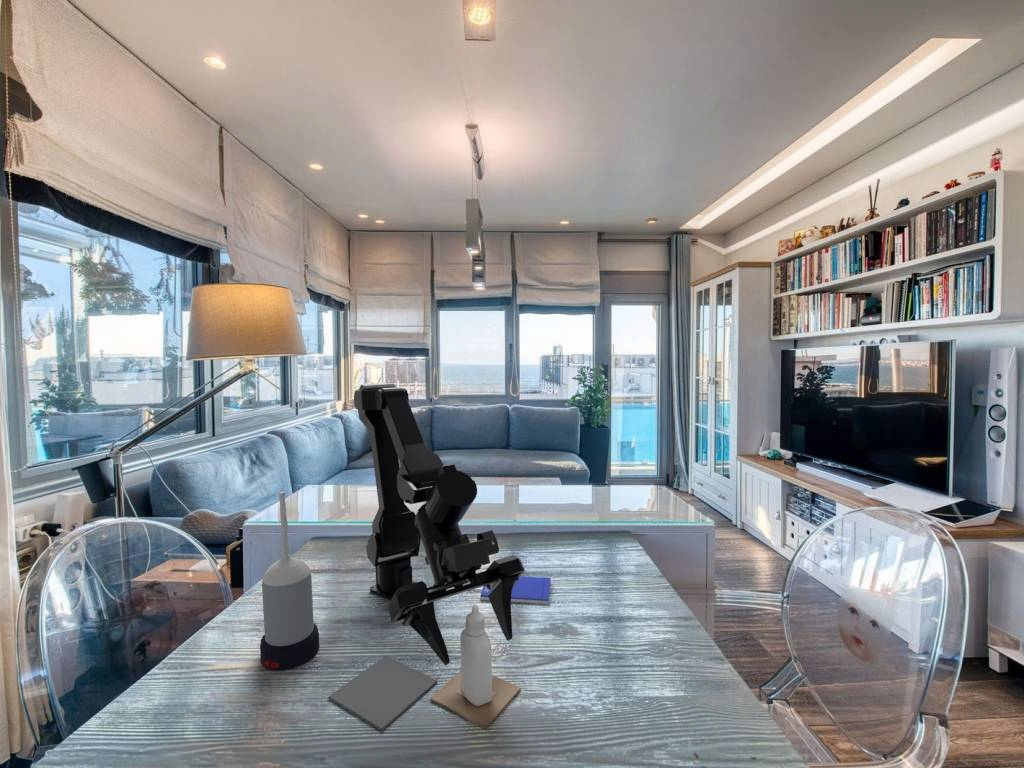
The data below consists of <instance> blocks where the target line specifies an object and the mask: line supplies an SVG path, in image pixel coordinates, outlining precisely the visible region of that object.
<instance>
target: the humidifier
mask: <svg viewBox="0 0 1024 768" xmlns="http://www.w3.org/2000/svg"><path fill="white" fill-rule="evenodd" d="M279 515H280V525H281V527H280V528H281V529H280V530H281V531H280V542H281V543H280V545H281V553H282V555H281V558H279V560H276V561H275V562H273V563H272V564H271V565H270V566H269V567H268V568H267V570H265V573H264V575H263V576H262V580H261V591H262V608H263V609H262V611H263V628H264V634H263V635H262V637H261V639H260V644H259V651H260V663H261V666H263V668H265V669H268V670H269V669H270V671H276V670H277V671H278V672H279V671H280V672H281V671H287V670H293V669H295V667H296V668H299V667H301V666H302V665H304V664H307V663H308V662H310V661H311V660H312V659H314V658H315V656H316V655H317V654H318V653H319V650H320V632H319V628H318V626H317V624H316V623H314V607H313V605H314V602H313V601H314V600H313V585H312V584H313V583H312V582H313V581H312V573H311V568H310V566H309V565H308V564H307V563H306V562H305V561H303V560H301V559H299V558H298V557H297V558H296V557H292V556H291V554H290V549H289V540H288V539H289V536H288V533H289V531H288V530H289V528H288V527H289V525H288V520H287V519H288V517H287V503H286V492H285V491H284V490H282V491H279ZM298 666H299V667H298ZM277 671H276V672H277Z"/></svg>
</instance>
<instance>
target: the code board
mask: <svg viewBox="0 0 1024 768" xmlns="http://www.w3.org/2000/svg"><path fill="white" fill-rule="evenodd" d="M521 690H522V688H521V686H518V685H515V684H513V683H511V682H509V681H507V680H504V679H502V678H501V677H498V676H496V675H494V674H492V699H491V701H490V702H488V703H486V704H483V705H480V706H475V705H474V704H472V703H471V702H470V701H468V700H467V698H466V697H465V696H464V694H463V691H462V688H461V670H459V672H458V673H456V674H455V675H454V676H453V677H452V678H451V679H450V680H448V681H447V682H446V683H445V684H444V685H443V686H442V687H441V688H440V689H439V690H437V692H435V693H433V695H432V696H431V697H430V699H429V700H430V701H431V702H433V703H435V704H437V705H439V706H440V707H443V708H445V709H447V710H449V711H451V712H452V713H454V714H457V715H458V716H460V717H462V718H464V719H466V720H467V721H470V722H472V723H474V724H476V725H477V726H479V727H481V728H482V729H484V730H487V729H488V728H489V727H490V726H491V724H492V723H493V722H494V721H495V719H496V718H497V717H498V716H500V714H501V713H502V712H503V711H504V709H505V708H506V707H507V706H508V705H509V704H510V703H511V701H512V700H514V698H515V697H516V696H517V695H518V694H519V692H521Z"/></svg>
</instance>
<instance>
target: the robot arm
mask: <svg viewBox="0 0 1024 768" xmlns="http://www.w3.org/2000/svg"><path fill="white" fill-rule="evenodd" d="M409 401H410V400H409V392H408V389H406V388H405V387H402V386H401V387H400V386H396V385H395V384H394V383H393V382H388V383H387V382H385V383H372V384H371V383H370V384H369V383H367V384H360V386H359V388H358V390H355V391H354V393H353V403H354V408H355V409H356V410H357V412H358V419H359V421H361V422H362V424H363V425H364V427H366V429H367V430H368V431H369V437H370V438H369V439H370V446H371V454H372V455H371V456H372V462H373V469H374V477H375V485H376V494H377V495H376V496H377V501H378V509H377V512H376V514H375V516H374V518H373V521H372V522H371V527H372V529H371V530H372V533H371V534H370V536H369V539H368V541H367V544H366V545H365V546H366V547H365V548H366V558H367V559H368V561H369V562H370V563H371V564H372V565H373V568H375V584H374V585H372V586H370V587H369V591H370V592H372V593H374V594H377V595H378V596H379V595H380V596H382V597H385V598H387V599H390V601H389V602H388V605H387V606H388V614H389V618H390V623H392V624H393V623H394V624H395V623H398V622H401V621H402V622H401V624H402V626H403V627H408V626H410V627H411V628H412V629H413V630H414V631H415V632H416V633H417V634H418V635H419V636H420V637H421V638H422V639H423V640H424V641H425V643H426V644H428V646H429V647H430V648H431V649H432V651H433V652H434V654H435V655H436V656H437V657H438V659H440V661H441V662H442V663H443V664H444V665H445V666H447V665H450V662H451V661H450V657H449V656H450V655H449V653H448V649H447V645H446V643H445V640H444V637H443V635H442V632H441V628H440V625H439V623H438V621H437V618H436V613H435V611H436V610H435V604H434V603H435V602H436V601H439V600H440V601H441V600H443V599H446V598H449V597H453V596H456V595H459V594H463V593H466V592H468V591H473V590H475V589H478V588H483V586H485V585H486V587H487V588H488V589H490V590H491V591H492V592H491V593H490V594H489V595H488V597H489V600H490V601H489V600H488V601H489V603H490V605H491V608H492V610H493V613H494V615H495V617H496V620H497V622H498V625H499V627H500V630H501V632H502V634H503V636H504V637H505V639H506V641H510V640H513V622H512V621H513V617H512V602H511V594H512V589H513V586H514V585H515V584H516V583H517V582H518V581H519V577H520V576H523V574H524V573H525V572H526V570H525V567H524V565H523V562H522V560H521V559H520V558H519V557H517V556H516V555H515V554H513V555H509V556H506V557H502V558H499V559H495V560H493V561H492V562H491V559H490V556H491V555H492V556H493V555H496V554H499V552H500V546H499V543H498V539H497V536H496V535H495V533H494V531H493V529H490V530H486V531H483V532H479V533H477V534H476V541H470V539H469V537H468V535H467V533H466V534H463V532H462V530H461V527H460V525H459V523H460V522H461V521H462V519H463V518H464V516H465V515H466V513H468V510H469V509H470V507H471V506H472V504H473V503H474V501H475V499H476V498H477V496H478V487H477V483H476V481H475V480H474V479H473V478H472V477H471V476H470V475H469V474H467V473H466V472H464V471H460V470H457V467H456V465H455V463H451V464H445V465H444V463H443V461H442V459H441V457H440V456H439V455H438V453H436V452H435V451H433V450H431V449H430V448H429V447H427V444H426V442H425V439H424V438H423V435H422V432H421V430H420V427H419V425H418V423H417V420H416V418H415V415H414V413H413V410H412V407H411V405H410V403H409ZM419 503H424V504H422V505H421V506H420V507H419V508H418V510H417V512H416V513H415V511H413V510H412V511H411V509H410V508H409V507H408V506H407V505H406V504H409V505H415V504H419ZM421 541H422V544H423V547H424V552H425V554H426V556H425V558H424V561H425V564H426V565H427V566H429V567H430V570H431V573H432V576H433V580H434V584H433V585H432V586H428V585H427V584H426V583H425V581H423V580H421V581H414V580H413V566H412V558H413V557H418V556H419V554H420V553H419V552H420V546H421ZM486 565H489V566H488V567H487V569H486V570H484V571H481V572H476V571H478V570H481V568H482V567H483V566H486Z"/></svg>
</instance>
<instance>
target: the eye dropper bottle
mask: <svg viewBox="0 0 1024 768" xmlns="http://www.w3.org/2000/svg"><path fill="white" fill-rule="evenodd" d="M485 621H486V620H485V615H484V613H482V612H481V611H480V610H479V606H478V605H476V604H474V605H472V608H471V612H469V613H468V614H467V615H466V616H465V628H463V629H462V630H461V633H460V638H459V639H460V646H459V647H460V648H459V649H460V671H461V688H462V691H463V694H464V696H465V697H466V698H467V700H468V701H470V702H471V703H472V704H474V705H475V706H480V705H483V704H486V703H488V702H490V701H491V699H492V675H493V671H492V670H493V669H492V665H493V664H492V659H493V658H492V644H491V640H490V638H489V635H488V634H487V632H486V629H485V623H486V622H485Z"/></svg>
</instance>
